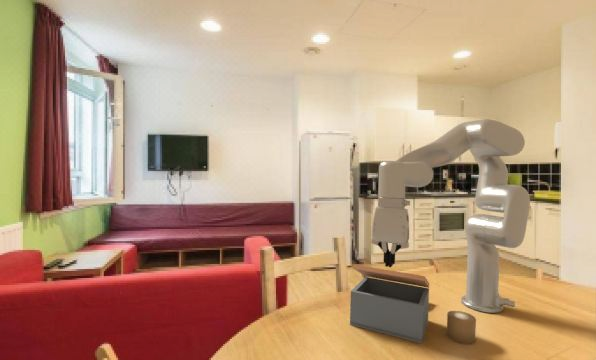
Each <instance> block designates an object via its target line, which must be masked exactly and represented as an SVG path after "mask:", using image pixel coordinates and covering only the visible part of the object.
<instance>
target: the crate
mask: <svg viewBox="0 0 596 360" xmlns="http://www.w3.org/2000/svg"><path fill="white" fill-rule="evenodd" d="M429 303H430V287H429V288H428V287H422V286H417V285H411V284H406V283H400V282H394V281H389V280H383V279H378V278H372V277H367V276H364V278H363V279H361V280H360V281H359V282H358V284H357V285H355V287H354V288H352V289H351V290H350V306H349V307H350V309H349V325H350V326H353V327H358V328H361V329H365V330H369V331H372V332H377V333H380V334H382V335H383V334H384V335H387V336H392V337H395V338H400V339H403V340H407V341H410V342H414V343H417V344H421V345H422V344H423V341H424V338H425V334H426V330H427V327H428V323H429V308H430V307H429Z"/></svg>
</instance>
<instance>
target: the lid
mask: <svg viewBox="0 0 596 360" xmlns="http://www.w3.org/2000/svg"><path fill="white" fill-rule="evenodd" d="M352 269H353V270H354V271H356V272H358V273H359V274H360V275H363V277H369V278H374V279H380V280H385V281H391V282H396V283H402V284H407V285H413V286H418V287H424V288H429V289H430V282H429V280H428V279H427V278H426V277H427V276H425V275H420V274H414V273H407V272H402V271H395V270H389V269H382V268H378V267H372V266H366V265H359V264H353V266H352Z"/></svg>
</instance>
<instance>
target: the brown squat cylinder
mask: <svg viewBox="0 0 596 360" xmlns="http://www.w3.org/2000/svg"><path fill="white" fill-rule="evenodd" d="M446 316H447V318H446V337H447V338H448V339H449V340H451V341H453V342H455V343H456V344H462V345H467V346H468V345H473V344H475V343H476V330H477V318H476V317H475V316H474V315H473V314H470V313H469V312H465V311H460V310H450V311H448V312H447V315H446Z"/></svg>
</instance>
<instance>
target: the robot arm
mask: <svg viewBox="0 0 596 360" xmlns="http://www.w3.org/2000/svg"><path fill="white" fill-rule="evenodd" d="M525 142H526V141H525V137H524V134H522V132H521V131H520V130H518V129H517V128H514V127H512V126H510V125H508V124H505V123H503V122H501V121H499V120H496V119H490V118H489V119H488V118H483V119H479V120H470V121H466V122H461V123H458V124H457V125H455V126H454V127H453V128H451V129H450V130H448V131H447V132H446V133H444V134H443V135H442V136H439V138H437V139H436V140H434V141H431V142H430V143H427V144H425V145H422V146H421V147H418V148H417V149H416V148H415V149H414V150H411V151H409V152H407V153H406V154H404V155H402V156H400V157H398V159H396V160H395V161H393V160H392V161H386V160H385V161H382V162H380V164H379V168H378V189H377V190H378V191H377V192H378V196H377V197H378V198H377V206H376V207H375V209H374V212H373V218H372V226H371V241H370V243H371V244H373V245H374V246H378V247H379V248H380V250H381V251H382V252H383V264H384V266H385V267H387V268H393V265H395V264H396V253H397V252H398V251H399V250H402V249H408V248H409V247H410V241H409V240H410V219H409V211H408V209H407V208H405V207H407V206H411V200H407V199H406V187H410V188H422V187H425V186H426V187H427V186H428V185H429V184H430V183H432V181H433V179H434V170H433V168H438V167H442V166H447V165H448V164H451V163H453V162H454V161H455V160H457V159H458V158H459V157H461V156H462V155H463V154H465V153H466V152H468V151H469V152H470V153H471V155H472V156H473V157H474V159H475V160H476V163H477V165H478V170H479V173H478V179H477V185H476V191H475V195H474V199H475V200H474V203H475V206H476V207H477V208H478V209H480V210H482V211H488V212H494V213H501V214H503V216H497V215H491V214H485V213H478V214H477V213H476V214H473V215H470V216H469V217H468V218H467V219H466V221H465V225H464V231H465V237H466V241H467V243H466V244H467V258H466V259H467V261H466V263H467V264H466V265H467V266H466V287H465V289H466V291H465V294H464V295H463V296H461V298H460V302H461V304H462V305H464V306H465V307H466V308H469V309H472V310H475V311H479V312H482V313H490V314H497V313H498V314H499V313H501V312H503V311H504V306H507V307H512V308H515V307H516V302H515V301H514V300H511V299H510V298H508V297H502V296H501V295H500V292H499V280H500V254H499V251H498V248H497V247H496V246H499V247H503V248H508V249H516V248H518V247H519V246H521V245H522V243H523V241H524V239H525V236H526V231H527V225H528V218H529V213H530V206H531V199H530V194H529V191H528V190H527V189H526V188H525V187H523V186H521V185H518V184H508V176H509V170H508V167H507V165H506V163H505V161H504V160H503V159H502V158H501V157H512V156H517V155H518V154H520V153H522V151H523V150H524V147H525ZM389 244H391V247H390V249H389Z"/></svg>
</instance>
